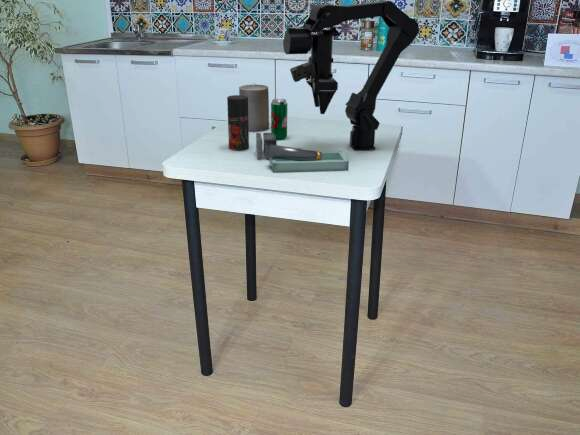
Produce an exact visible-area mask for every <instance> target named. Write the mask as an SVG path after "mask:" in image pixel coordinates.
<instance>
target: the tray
mask: <svg viewBox="0 0 580 435" xmlns="http://www.w3.org/2000/svg"><path fill="white" fill-rule="evenodd" d="M321 152H322V158H321V161H292V160H285V159H278V158H271V157H270V160H269V163H270V166H271V170H272V171H271V172H272V173H295V172H296V173H301V172H329V171H330V172H333V171H334V172H338V171H342V172H343V171H349V168H350V167H349V163H350V161H349V159H348V158H347V157H346V155H345V154H344V152H343V151H342V150H341V151H321Z"/></svg>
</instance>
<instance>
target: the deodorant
mask: <svg viewBox="0 0 580 435" xmlns="http://www.w3.org/2000/svg"><path fill="white" fill-rule="evenodd" d="M226 100H227V128H228V129H227V130H228V131H227V132H228V135H227V136H228V149H229V150H231V151H234V152H241V151H242V152H243V151H247V150H248V149H249V148H250V145H249V144H250V133H249V132H250V131H249V122H248V97H247V96H243V95H239V94H236V95H235V94H234V95H229V96H227V97H226Z"/></svg>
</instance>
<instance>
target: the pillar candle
mask: <svg viewBox="0 0 580 435" xmlns="http://www.w3.org/2000/svg"><path fill="white" fill-rule="evenodd" d="M238 93H239V94H238V95H243V96H247V97H248V122H249V132H251V133H252V132H255V133H257V132H262V131H266V130H269V129H270V104H269V103H270V100H269V97H270V96H269V86H268V85H266V84H256V83H255V82H254V83H253V84H244V85H240V86H239V87H238Z"/></svg>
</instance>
